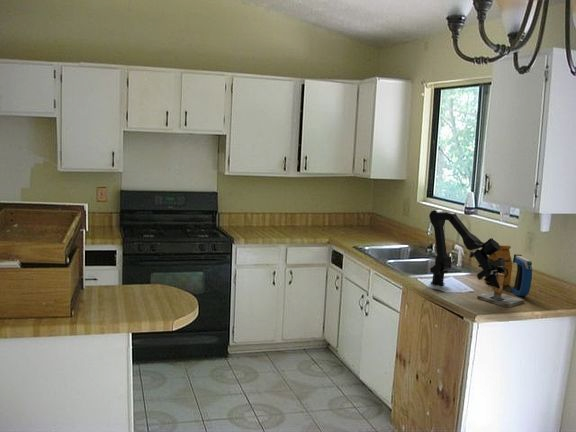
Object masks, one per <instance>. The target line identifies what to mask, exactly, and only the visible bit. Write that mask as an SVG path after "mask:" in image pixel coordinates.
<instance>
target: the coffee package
mask: <svg viewBox="0 0 576 432" xmlns="http://www.w3.org/2000/svg"><path fill="white" fill-rule="evenodd" d="M499 245H500V244H499ZM510 249H511V245H508V244H507V245H500V249H499V250H498V251H497V252H495V253H494V254H492V255H488V257H489V258H490V259H493V261H495V260H498V258H500V257H503V258H504V260H505V261H506V262H505V265H502V266H504V267H505V268H506V271H505V272H503V273H502V274H504V282H503V284H504V286H510V284H511V282H512V281H511V279H512V278H511V277H512V273H513V272H512V270H513V259H512V256H511V252H510V251H511V250H510ZM498 267H500V266H498ZM484 283H488V284H490V283H489V282H487V281H485V280H484Z"/></svg>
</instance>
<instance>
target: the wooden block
mask: <svg viewBox="0 0 576 432" xmlns="http://www.w3.org/2000/svg"><path fill="white" fill-rule="evenodd" d="M496 280H497V282H498V284H499V286H500V288H499V289H498V288H496V287H495V286H494V288H493V289H494V290H493V292H494V295H493V299H494V300H498V301H501V295H502V294H503V288H504V287H503V282H504V274H500V273H497V275H496Z"/></svg>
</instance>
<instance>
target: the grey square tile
mask: <svg viewBox="0 0 576 432" xmlns="http://www.w3.org/2000/svg"><path fill="white" fill-rule="evenodd" d="M493 295H494V291H490V292H486V293H481V294H478V295H477V296H476V298H477V300H482V301H484V302H488V303H490V304H493V305H494V304H495V305H498V306H501V307H504V308H511V307H515V306H518V305H522V304H524V303H525V299H524V298H520V297H516V296H512V295H509V294H505V293H502V295H501V301H498V300H494V299H493Z"/></svg>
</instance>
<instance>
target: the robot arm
mask: <svg viewBox="0 0 576 432" xmlns="http://www.w3.org/2000/svg"><path fill="white" fill-rule="evenodd" d="M428 216H429V221H430V223H431V226H433V230H434V240H435V249H436V257H435V259H434V265H433V266H432V267H429V268H430V273H431V274H432V280H431V282H430V285H434V286H440V287H443V286H445V282H444V280H445V274H448V272H449V270H451V269H452V265H453V262H452V257H451V256H449V255H448V253H447V246H446V238H445V237H446V236H445V230H444V229H445V228H444V226H445V224H446V221H448V222H449V223H450V224H451V225H452V227H453V228H454V229H455V231H456V232H457V233H458V234H459V235H460V237H461V239H462V243H463V244H464V246H465V248H466V249H467V250H468V251H470V254H469V258H475V260H476V262H477V263H478V268H481V269H482V270H481V271H480V272H478V273H477V274H476V278H477V279H478V280H479V281H480V280H484V282H485V281H487V282H489V283H488V284H489V285H491V286H493V287H494V288H495V287H496V288H498V289H499V288H500V286H499V284H498V282H497V280H496V275H497V273H500V274H502V273H503V272H505V271H506V268H505V267H504V266H502V265H505V262H506V261H505V260H504V258H503V257H500V258H498V260H495V261H493V259H490V258H489V255H492V254H494V253H495V252H497V251H498V250H499V249H500V243H498V241H496V240H494V238H492V237H491V238H489V239H488V240H487V241H485V242H483V241H481V239H479V238H478V237H477V236H476V235H474V234H473V233H471V232H470V231H469V229H468V227H466V226H465V224H464V223H463V222H462V220H461V219H460V218H459V216H458V215H457V214H456V212H446V211H444V210H441V209H437V210H431V211H430V212H429V215H428ZM498 266H500V267H498ZM483 278H484V279H483ZM504 287H505V285H504V284H503V288H504Z"/></svg>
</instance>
